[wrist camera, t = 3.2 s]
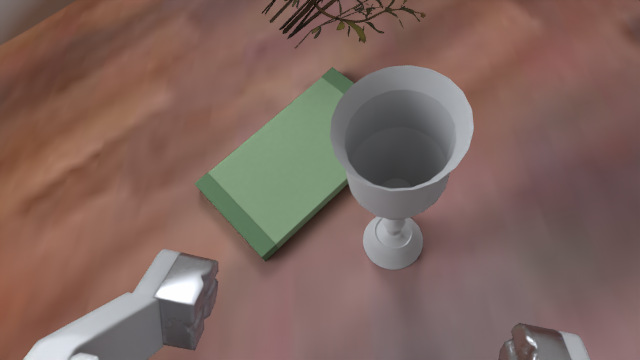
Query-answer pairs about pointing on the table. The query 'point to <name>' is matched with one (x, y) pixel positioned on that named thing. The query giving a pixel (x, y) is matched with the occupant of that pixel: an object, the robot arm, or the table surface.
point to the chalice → (399, 152)
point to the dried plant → (341, 25)
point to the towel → (282, 170)
